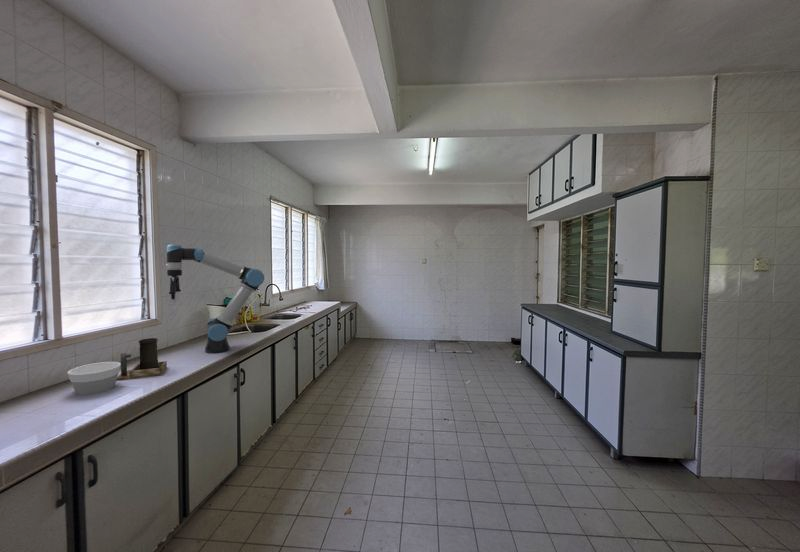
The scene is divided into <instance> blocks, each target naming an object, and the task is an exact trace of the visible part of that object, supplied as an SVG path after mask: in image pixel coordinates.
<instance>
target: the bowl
mask: <svg viewBox="0 0 800 552" xmlns="http://www.w3.org/2000/svg"><path fill="white" fill-rule="evenodd" d="M120 371H121V362H119V361H101V362H96V363H95V362H94V363H87V364H84V365H81V366H77V367H76V366H75V367H74V368H72V369H70V370H68V371H67V376H68V378H69V380H70V382H71V385H72V388H73V389H74V392H75V395H79V396H81V395H82V396H85V395H86V396H87V395H95V394H98V393H99V394H100V393H103V392H106V391H109V390H111V389H113V388H114V387H116V383H117V381H116V380H117V377H118V376H119V373H120Z"/></svg>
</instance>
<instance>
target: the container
mask: <svg viewBox="0 0 800 552" xmlns="http://www.w3.org/2000/svg"><path fill="white" fill-rule="evenodd" d="M138 344H139V348H138V349H139V364H140V368H139V369H140V370H144V369H153V368H159V367H158V366H159V365H158V362H159V359H158V358H159V357H158V355H159V354H158V338H155V337H152V338H151V337H150V338H149V337H148V338H142V339H140V340H138Z"/></svg>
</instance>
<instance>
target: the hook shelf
mask: <svg viewBox="0 0 800 552" xmlns="http://www.w3.org/2000/svg"><path fill="white" fill-rule="evenodd" d="M128 358H132V354H127V352H123V353H120V363H121V366H120V374H118V376H117V380H116V382H117V381H125V380H132V379H134V380H135V379H141V378H149V377H157V376H158V377H159V376H162V375H163V374H164V373H165V371H166V369H167V367H168V366H167V362H168V361H167V360H162V361H158V365H159V366H158V367H159V368H153V369H144V370H140V369H139V368H140V363H136V364H135V365H134V366H133V368H132V369H128V365H127V363H128V362H127V360H128Z"/></svg>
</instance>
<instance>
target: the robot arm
mask: <svg viewBox="0 0 800 552" xmlns="http://www.w3.org/2000/svg"><path fill="white" fill-rule="evenodd" d="M183 261H194V262H197V263H200V264H202V265H205V266H207V267H211V268H214V269H216V270H219V271H222V272H224V273H226V274H230V275H233V276H235V277H236V278H237V279H239V280H240V286H239V288H238V289H237V290H236V292H235V294H234V295H233V297H232V298H231V299H230V301H229V302H228V304H227V305H226V307H225V308H224V309H223V311H222V313H220V315H219V316H216V317H215V318H208V319H207V322H206V324H207V332H206V333H207V342H206V345H205V349H204V352H205V353H206V354H217V353H218V354H219V353H226V352H228V351H229V350H231V349H230V343H229V341H228V339H227V337H228V334H229V332H230V330H231V329H232V327H233V326H234V325H233V321H234V320H235V319H236V317H237V316H238V314H239V313H240V311H241V310H242V308H243V307H244V305H245V304H246V302H247V301H248V299H249V298H250V296H252V293H254V292H257V290H258V288H259V287H261V285H262V284H263V283H264V281H265V274H264V273H263V271H261V270H260V269H258V268H251V267H246V266H245V265H243V266H240V265H238V264H236V263H233V262H230V261H227V260H225V259H223V258H220V257H217V256H214V255H211V254H209V253H206V252H204V249H203V248H198V247H197V248H192V247H191V248H185V247H182V245H181V244H167V246H166V262H167V263H166V264H165V266H166V269H167V272H166V273H167V274H166V275H167V276H169V277H170V278H169V279H170V282H169V283H170V284H169V292H168V295H170V305H177V303H180V301H181V299H180V297H181V296H180V292H182V290H181V288H180V277H181V276H182V275H183V270H182V269H183V265H182V264H183Z"/></svg>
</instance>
